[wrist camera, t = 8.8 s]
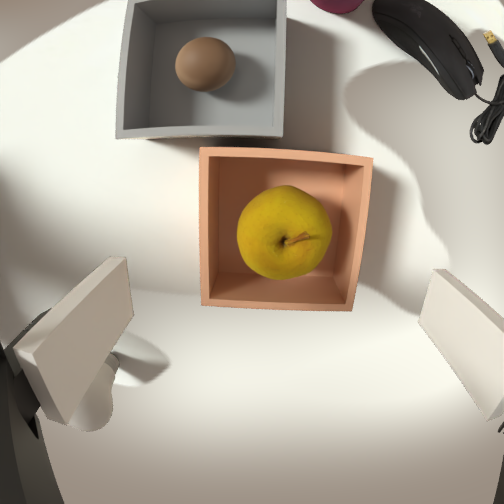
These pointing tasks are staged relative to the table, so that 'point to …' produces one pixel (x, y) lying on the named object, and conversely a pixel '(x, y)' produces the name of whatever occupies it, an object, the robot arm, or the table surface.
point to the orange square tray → (257, 181)
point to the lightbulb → (97, 399)
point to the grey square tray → (194, 102)
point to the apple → (283, 233)
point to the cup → (337, 5)
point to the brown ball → (205, 64)
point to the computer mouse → (443, 54)
